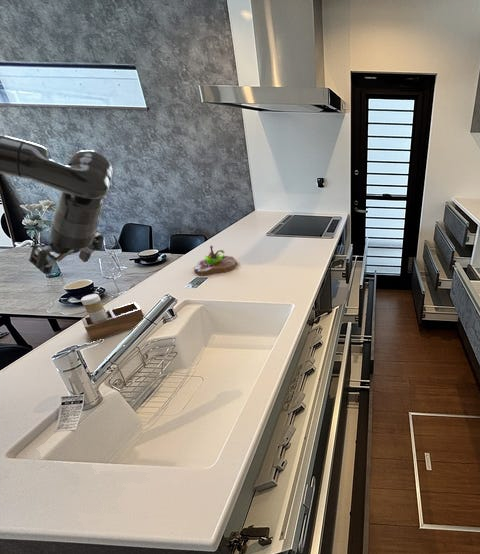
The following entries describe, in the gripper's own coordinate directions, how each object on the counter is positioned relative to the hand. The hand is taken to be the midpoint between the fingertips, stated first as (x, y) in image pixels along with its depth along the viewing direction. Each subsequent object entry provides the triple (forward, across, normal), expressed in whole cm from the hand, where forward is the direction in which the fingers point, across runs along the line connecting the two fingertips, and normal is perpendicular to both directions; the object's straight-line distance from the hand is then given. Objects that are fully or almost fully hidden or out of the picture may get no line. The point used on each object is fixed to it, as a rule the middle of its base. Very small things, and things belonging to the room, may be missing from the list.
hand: (64, 265), depth 80 cm
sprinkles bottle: (+32, -9, +11) cm, 35 cm away
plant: (+37, -68, +7) cm, 78 cm away
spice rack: (+32, -13, +12) cm, 36 cm away
